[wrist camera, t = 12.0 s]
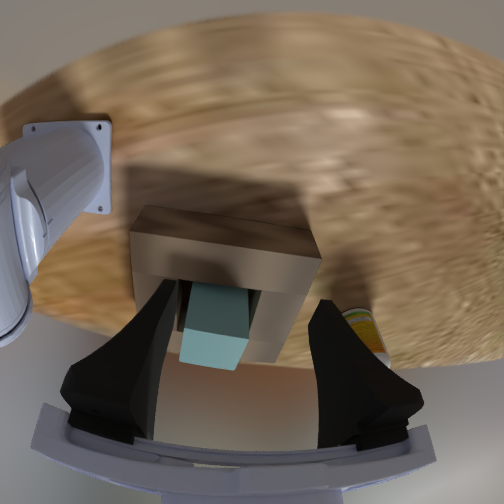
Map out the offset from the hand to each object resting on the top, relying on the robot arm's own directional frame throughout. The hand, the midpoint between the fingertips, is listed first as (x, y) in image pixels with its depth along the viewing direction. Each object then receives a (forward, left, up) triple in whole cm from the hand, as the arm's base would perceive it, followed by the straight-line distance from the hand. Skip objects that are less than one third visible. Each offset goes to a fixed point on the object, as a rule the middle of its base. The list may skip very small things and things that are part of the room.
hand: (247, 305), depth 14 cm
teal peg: (-1, -8, -10) cm, 13 cm away
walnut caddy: (-1, -8, -10) cm, 13 cm away
